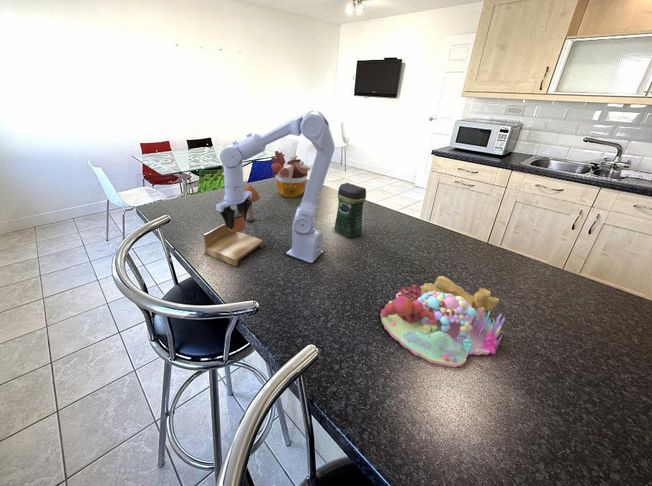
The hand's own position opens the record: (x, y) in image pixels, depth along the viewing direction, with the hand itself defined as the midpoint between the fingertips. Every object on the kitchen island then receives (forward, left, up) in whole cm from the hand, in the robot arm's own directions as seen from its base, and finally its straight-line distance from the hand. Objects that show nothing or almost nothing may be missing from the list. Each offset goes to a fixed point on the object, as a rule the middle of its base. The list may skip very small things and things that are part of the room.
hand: (236, 224), depth 96 cm
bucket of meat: (+12, -53, -9) cm, 55 cm away
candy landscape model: (-62, 0, -9) cm, 63 cm away
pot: (0, 0, -1) cm, 1 cm away
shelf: (-1, +2, -8) cm, 9 cm away
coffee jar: (-27, -31, -9) cm, 42 cm away
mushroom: (+9, -18, -9) cm, 22 cm away
